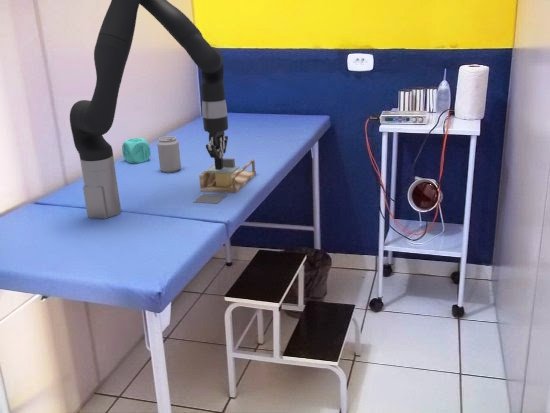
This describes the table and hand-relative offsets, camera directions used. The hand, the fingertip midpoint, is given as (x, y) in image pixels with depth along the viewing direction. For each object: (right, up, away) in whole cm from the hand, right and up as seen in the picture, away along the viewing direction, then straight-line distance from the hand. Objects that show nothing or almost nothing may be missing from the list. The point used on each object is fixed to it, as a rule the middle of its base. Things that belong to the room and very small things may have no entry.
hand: (219, 168), depth 191 cm
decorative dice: (-35, +6, +42) cm, 55 cm away
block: (+1, -5, +5) cm, 8 cm away
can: (-20, +1, +28) cm, 34 cm away
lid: (+1, 0, +3) cm, 4 cm away
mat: (-2, -10, -5) cm, 11 cm away
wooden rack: (+2, -4, +9) cm, 10 cm away
